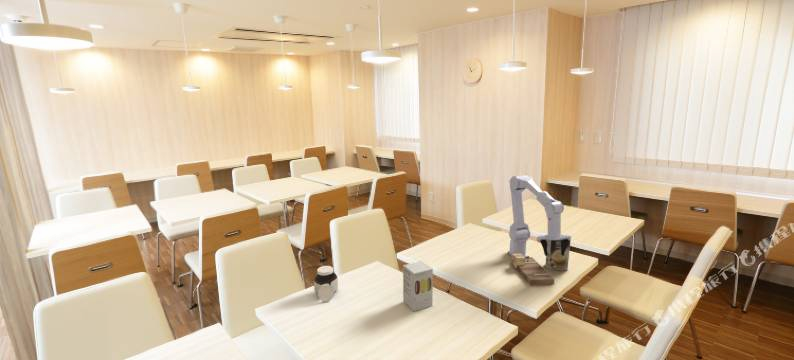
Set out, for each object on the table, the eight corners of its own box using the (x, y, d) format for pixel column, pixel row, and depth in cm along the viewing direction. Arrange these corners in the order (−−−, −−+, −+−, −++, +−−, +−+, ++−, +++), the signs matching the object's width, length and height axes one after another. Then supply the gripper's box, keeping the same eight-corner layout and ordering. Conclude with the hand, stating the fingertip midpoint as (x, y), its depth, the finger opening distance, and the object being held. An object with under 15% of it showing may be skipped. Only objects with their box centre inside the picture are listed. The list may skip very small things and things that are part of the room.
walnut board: (511, 262, 196) (511, 258, 196) (531, 261, 197) (532, 257, 196) (530, 285, 173) (530, 280, 172) (553, 284, 173) (554, 278, 173)
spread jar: (331, 286, 176) (329, 262, 173) (345, 294, 168) (344, 270, 165) (308, 295, 167) (306, 271, 165) (322, 305, 160) (321, 280, 157)
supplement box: (413, 312, 153) (413, 273, 150) (402, 301, 161) (401, 264, 158) (433, 305, 158) (433, 268, 154) (421, 295, 166) (421, 260, 162)
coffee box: (548, 270, 187) (551, 239, 184) (545, 264, 193) (547, 234, 190) (568, 270, 186) (570, 239, 183) (563, 265, 192) (566, 235, 189)
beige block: (511, 263, 192) (512, 253, 191) (526, 263, 193) (527, 253, 192) (515, 268, 188) (516, 258, 186) (530, 267, 188) (531, 257, 187)
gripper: (540, 229, 174) (540, 258, 176) (573, 228, 173) (573, 257, 174) (536, 225, 181) (536, 253, 183) (568, 225, 179) (568, 252, 181)
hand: (554, 255), depth 179 cm, fingers open, 7 cm apart
